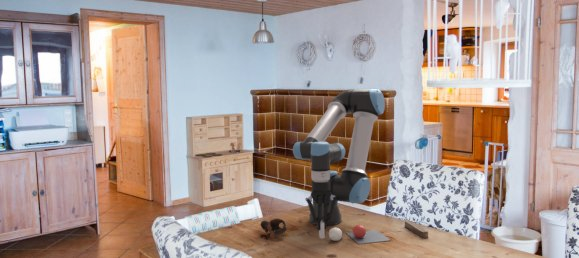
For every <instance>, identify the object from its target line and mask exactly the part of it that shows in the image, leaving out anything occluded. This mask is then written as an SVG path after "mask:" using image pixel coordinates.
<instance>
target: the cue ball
mask: <svg viewBox="0 0 579 258" xmlns="http://www.w3.org/2000/svg"><path fill="white" fill-rule="evenodd" d="M328 237H329V239H330V240H331V241H332V242H333V241H334V242H337V241H340V240H341V239H342V237H343V232H342V230H341V229H340V228H339V227H332V228H330V229H329V232H328Z"/></svg>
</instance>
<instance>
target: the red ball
mask: <svg viewBox="0 0 579 258" xmlns="http://www.w3.org/2000/svg"><path fill="white" fill-rule="evenodd" d="M366 231H367V230H366V227H365V226H364V225H362V224H356V225H354V226H353V228H352V232H353V235H354V236H355V237H356V238H363V237H364V236H365V234H366Z"/></svg>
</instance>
